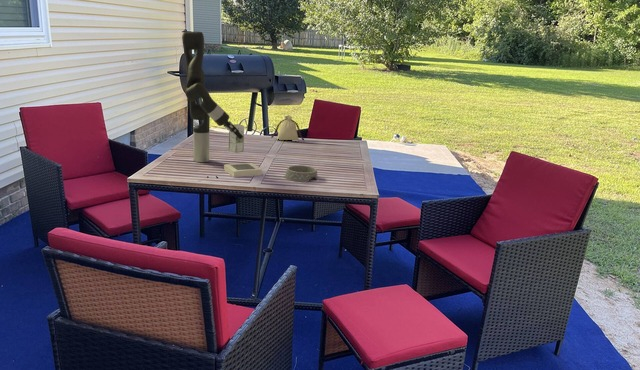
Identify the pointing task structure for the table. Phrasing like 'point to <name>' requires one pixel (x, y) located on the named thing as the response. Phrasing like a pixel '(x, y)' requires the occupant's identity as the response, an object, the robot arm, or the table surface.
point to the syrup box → (236, 140)
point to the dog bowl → (300, 173)
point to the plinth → (242, 169)
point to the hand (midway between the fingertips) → (239, 136)
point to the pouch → (288, 130)
